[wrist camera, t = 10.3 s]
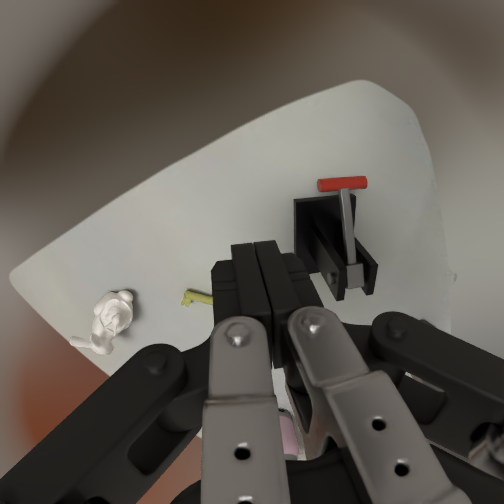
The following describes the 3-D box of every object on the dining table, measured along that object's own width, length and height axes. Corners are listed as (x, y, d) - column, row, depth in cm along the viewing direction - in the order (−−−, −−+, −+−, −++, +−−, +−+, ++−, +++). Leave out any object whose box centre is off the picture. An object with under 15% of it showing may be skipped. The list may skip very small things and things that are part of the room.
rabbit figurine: (111, 337, 52) (101, 379, 44) (75, 315, 49) (59, 356, 41) (146, 296, 49) (138, 339, 41) (106, 270, 46) (90, 311, 37)
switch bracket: (293, 199, 44) (324, 243, 33) (353, 193, 45) (397, 233, 34) (294, 271, 50) (318, 327, 40) (347, 263, 51) (382, 314, 40)
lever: (315, 180, 38) (321, 177, 36) (360, 177, 39) (368, 174, 36) (326, 288, 39) (333, 292, 37) (369, 280, 40) (378, 283, 38)
